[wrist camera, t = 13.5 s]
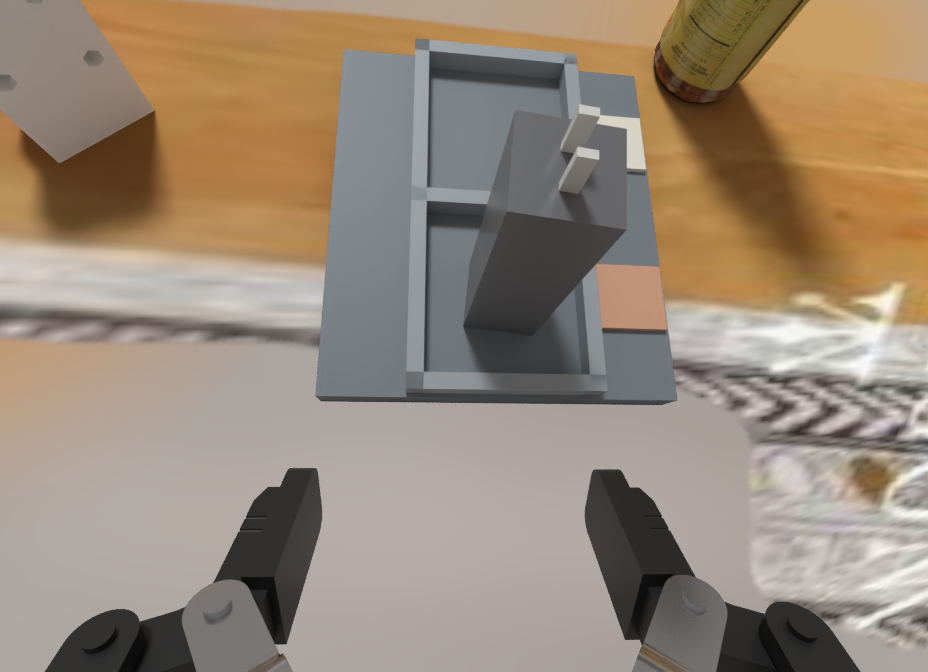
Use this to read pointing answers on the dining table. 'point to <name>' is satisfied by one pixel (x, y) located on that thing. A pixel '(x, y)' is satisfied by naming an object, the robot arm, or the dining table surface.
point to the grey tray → (474, 239)
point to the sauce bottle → (718, 43)
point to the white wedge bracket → (63, 77)
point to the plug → (546, 218)
